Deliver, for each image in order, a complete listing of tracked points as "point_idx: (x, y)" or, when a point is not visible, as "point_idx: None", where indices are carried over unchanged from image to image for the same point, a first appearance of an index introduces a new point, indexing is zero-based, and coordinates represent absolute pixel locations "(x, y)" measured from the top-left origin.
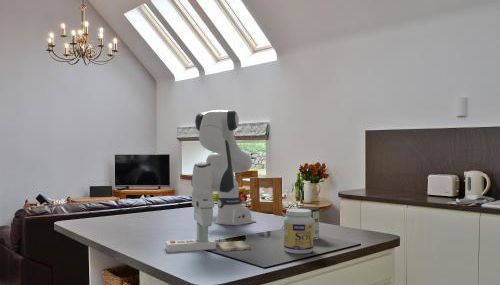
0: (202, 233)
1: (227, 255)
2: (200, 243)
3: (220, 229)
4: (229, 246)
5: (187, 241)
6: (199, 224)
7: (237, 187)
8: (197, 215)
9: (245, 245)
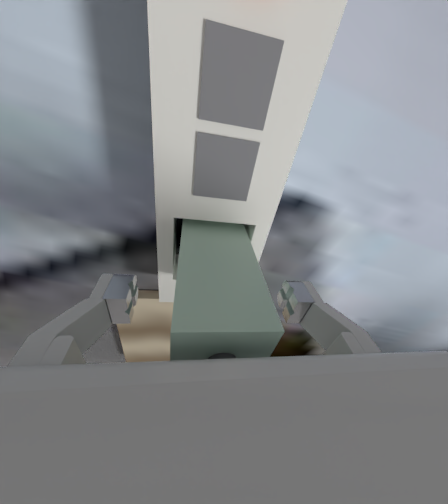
0: (114, 286)
1: (19, 285)
2: (157, 228)
3: (425, 341)
4: (148, 321)
5: (225, 152)
6: (225, 343)
7: None
8: (316, 483)
9: (151, 356)
